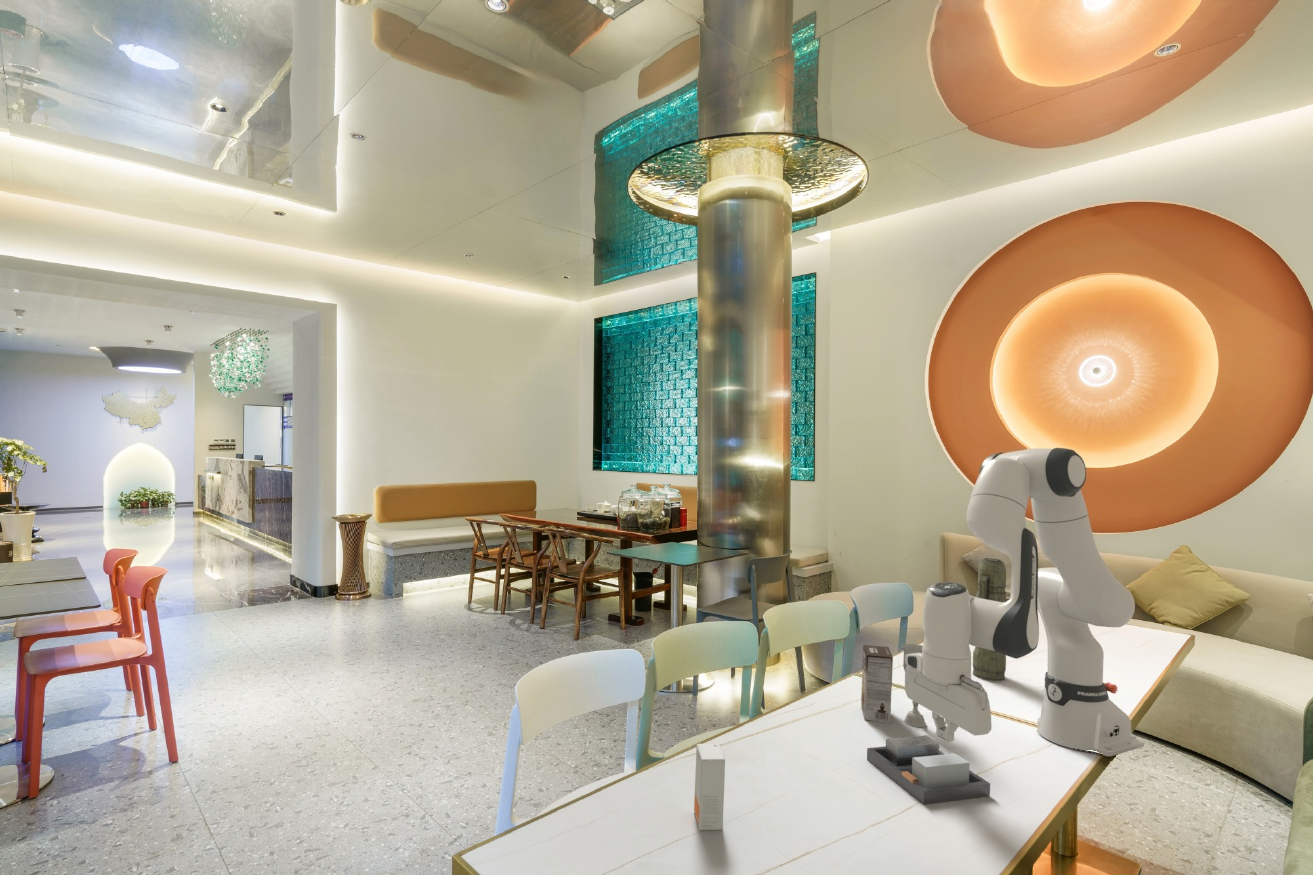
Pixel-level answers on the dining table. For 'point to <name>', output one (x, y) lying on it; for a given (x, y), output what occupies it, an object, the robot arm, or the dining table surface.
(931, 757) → the pale grey rectangular block
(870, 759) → the tray
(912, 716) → the chalice
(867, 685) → the coffee box
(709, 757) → the skincare box
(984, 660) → the thermos
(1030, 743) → the dining table surface
